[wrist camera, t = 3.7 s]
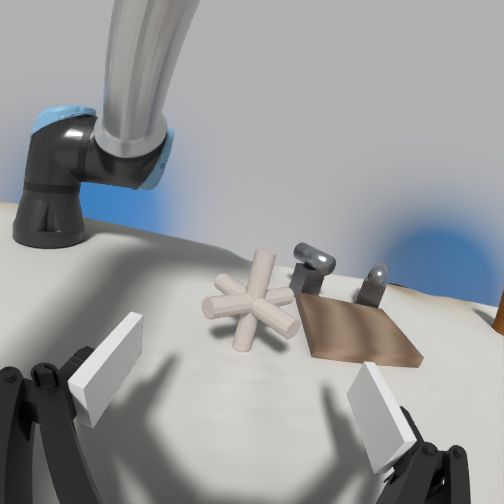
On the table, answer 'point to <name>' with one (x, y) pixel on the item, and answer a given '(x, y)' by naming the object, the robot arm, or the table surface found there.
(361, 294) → the dark grey piece
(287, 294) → the pipe connector
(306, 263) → the grey capsule on block
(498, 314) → the disposable coffee cup
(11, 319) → the table surface
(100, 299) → the table surface
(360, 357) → the mounting pad
